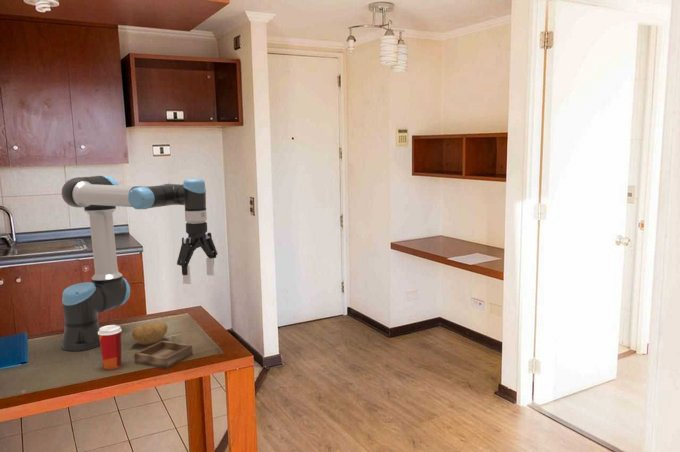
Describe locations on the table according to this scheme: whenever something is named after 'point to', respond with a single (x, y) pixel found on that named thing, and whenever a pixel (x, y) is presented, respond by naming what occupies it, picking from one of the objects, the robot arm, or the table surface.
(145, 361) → the tray
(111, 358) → the paper cup
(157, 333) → the potato
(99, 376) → the table surface
